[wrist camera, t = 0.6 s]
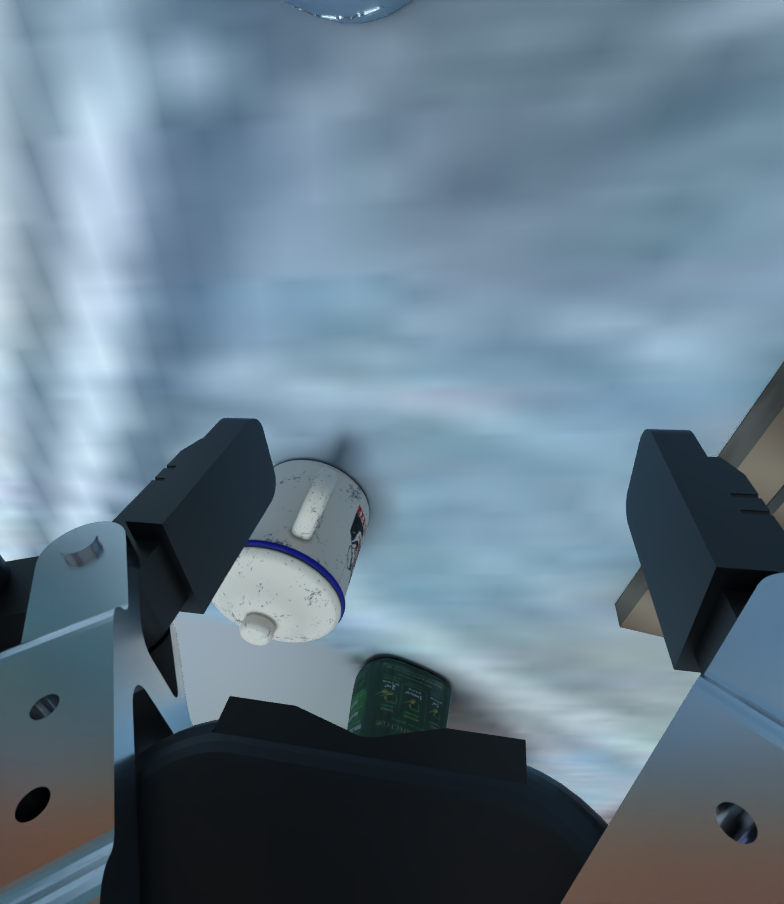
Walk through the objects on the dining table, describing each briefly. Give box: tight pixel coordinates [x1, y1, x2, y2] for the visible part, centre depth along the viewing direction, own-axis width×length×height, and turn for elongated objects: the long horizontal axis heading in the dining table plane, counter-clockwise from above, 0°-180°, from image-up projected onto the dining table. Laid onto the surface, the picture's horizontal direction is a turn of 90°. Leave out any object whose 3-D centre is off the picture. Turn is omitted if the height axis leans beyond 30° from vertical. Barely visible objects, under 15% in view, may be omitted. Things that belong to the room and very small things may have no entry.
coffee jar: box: [347, 658, 451, 737], centre depth 43 cm, size 10×8×19 cm
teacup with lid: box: [212, 460, 370, 645], centre depth 32 cm, size 12×9×12 cm
